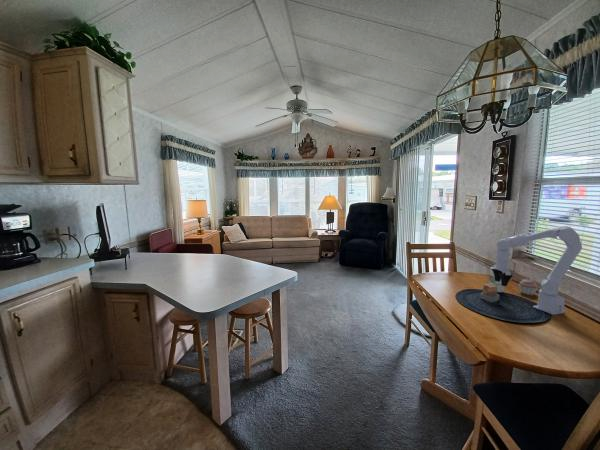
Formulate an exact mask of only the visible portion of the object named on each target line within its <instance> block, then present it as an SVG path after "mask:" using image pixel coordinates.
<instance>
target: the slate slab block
mask: <svg viewBox="0 0 600 450" xmlns="http://www.w3.org/2000/svg"><path fill="white" fill-rule="evenodd" d="M479 296H480V297H479V299H480V298H481V300H483V299H484V301H487V302H489V303H491V304H493V303H495V302H499V301H500V294H498V293H497V295H493V296H489V295H487V294H485V293H483V292H480V295H479ZM498 300H499V301H498Z"/></svg>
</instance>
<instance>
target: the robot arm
mask: <svg viewBox="0 0 600 450" xmlns="http://www.w3.org/2000/svg"><path fill="white" fill-rule="evenodd" d="M547 238H551V239H558V238H559V239H560V240H561V241H562V242H563V243H564V244H565V246H566V248H565V249H564V251H563V252H562V253H561V256H560V257H559V259H558V260H557V262H556V263H555V265H554V267H553V268H552V269H551V271H550V272H549V274H547V276H546V277H545V278H543V279H541V281H540V282H539V283H540V289H539V290H538V294H537V295H538V297H537V304H536V305H533V306H532V307H533V308H535V309H537V310H540V311H542V312H546V313H548V314H550V315H554V316H556V315H560V314H565V304H566V303H565V302H566V300H565V298H564V297H563V296H560V295H559V286H560V285H561V282H562V279H563V278H564V276H565V275H566V273H567V272H568V270H569V269H570V267H571V266H572V264H573V263H574V262H575V260H576V259H577V257H578V256H579V254H580V253H581V251H582V249H583V246H582V241H581V239H580V235H579V234H578V232H577V231H576V230H575V229H574V228H572V227H571V226H568V225H566V226H565V225H564V226H560V227H552V228H549V229H544V230H541V231H539V232H534V233H531V234H528V235H525V234H520V233H518V234H515V235H514V236H510V237H508V236H507V237H505V238H501V239H499V240H498V241H497V242H496V246H497V249H496V250H497V251H496V255H495V256H496V259H495V264H493V266H492V267H493V268H494V269H492V271H493V273H494V277H495V281H498V282H500V280H501V284H502V286H504V287H507V286H508V285H509V281H510V280H511V278H513V274H512V273H511V272H512V271H511V270H510V268H509V267H510V266H509V265H510V249H511V248H513V249H514V248H517V247H518V248H519V247H522V246H526V245H528V244H529V243H530V242H533V241H536V240H537V241H538V240H541V239H547Z"/></svg>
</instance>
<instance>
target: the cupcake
mask: <svg viewBox="0 0 600 450" xmlns="http://www.w3.org/2000/svg"><path fill="white" fill-rule="evenodd" d="M537 285H538V284H537V283H536V282H535V281H534V280H533V279H532V278H530V277H527V278H525V279H524V278H523V279H522V280H521V281H520V282H519V283H518V284H517V286H518V287H519V291H520V293H521V294H522V293H523V295H525V294H526V296H534V295H536V292H537V291H538V289H539V287H538V286H537Z"/></svg>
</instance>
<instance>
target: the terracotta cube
mask: <svg viewBox="0 0 600 450" xmlns="http://www.w3.org/2000/svg"><path fill="white" fill-rule="evenodd" d="M482 293H485V294H487V295H489V296H493V295H497V294H498V292H497V286H494V285H492V284H489V283H487V284H486V283H485V284H483V288H482Z"/></svg>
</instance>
